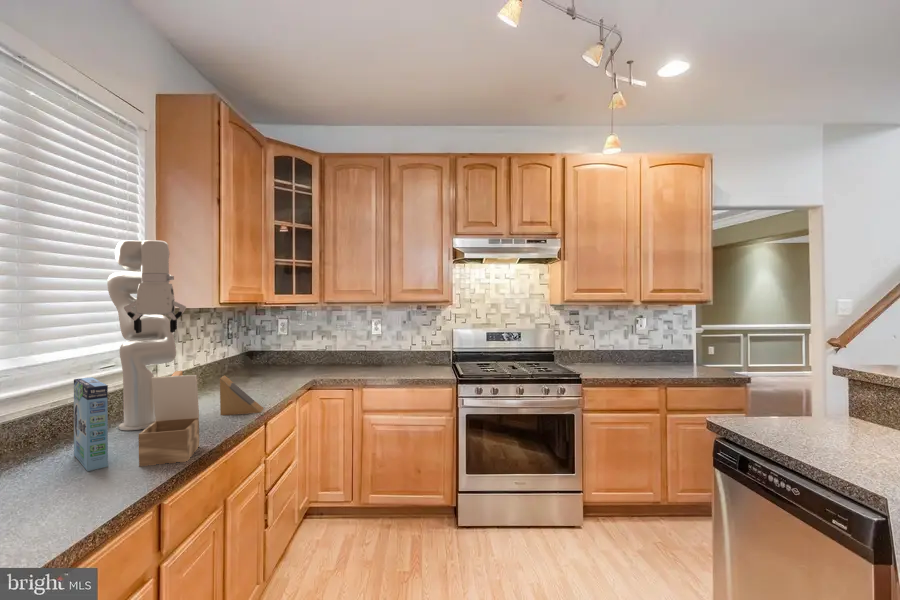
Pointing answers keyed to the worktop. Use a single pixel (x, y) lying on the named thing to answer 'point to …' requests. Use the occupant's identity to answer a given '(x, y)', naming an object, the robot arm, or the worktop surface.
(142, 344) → the robot arm
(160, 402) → the lid
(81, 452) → the gum box
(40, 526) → the worktop surface
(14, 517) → the worktop surface
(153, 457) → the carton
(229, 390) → the sandwich container
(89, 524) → the worktop surface
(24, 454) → the worktop surface
